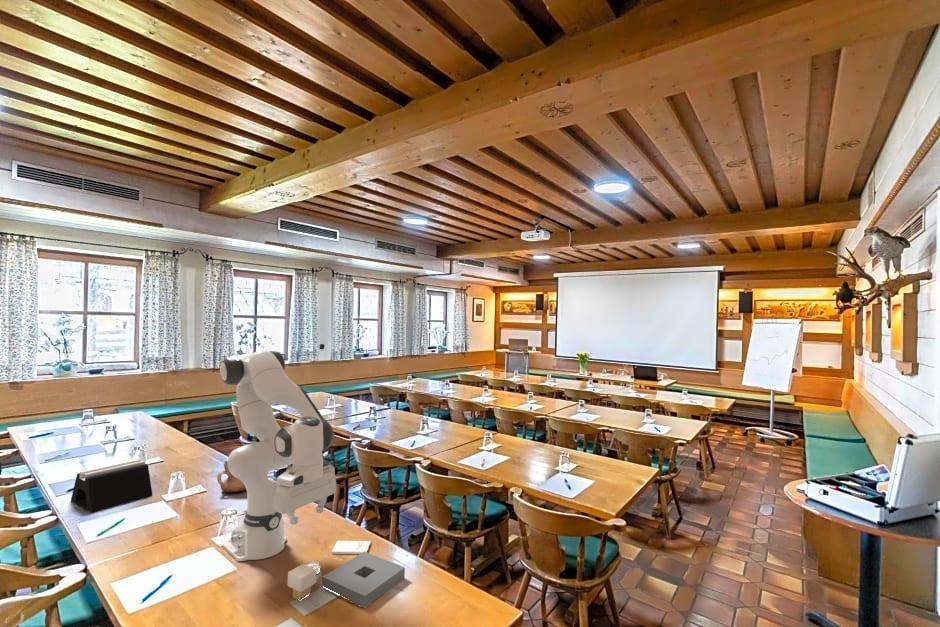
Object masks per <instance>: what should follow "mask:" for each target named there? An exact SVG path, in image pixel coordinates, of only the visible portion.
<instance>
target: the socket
mask: <svg viewBox="0 0 940 627" xmlns="http://www.w3.org/2000/svg"><path fill="white" fill-rule="evenodd" d="M405 570H406V568H405V566H403V565H399V564H398V563H395V562H392V561H390V560H387V559H385V558H383V557H380V556H377V555H374V554H371V553H369V552H363V553H361V554H359V555H356V556H355V557H353V558H351V559H349V560H348V561H346V562H344V563H343V564H341V565H340V566H337V567H335V569H333V570H331V571H330V572H327V573H326V574H325V575H323V576H322V579H321V580H322V583H321V585H323V586H324V587H326V588H328V589H330V590H332V591H334V592H336V593H338V594H340V595H341V596H343V597H345V598H347V599H349V600H350V601H352V602H354V603H356V604H357V605H356V604H355V605H356V606H358V605H360V606H362V607H364V608H365V607H366V608H368V607H369V606H370V605H371V604H372V602H373V601H374V602H375V601H376V599H377V600H378V599H379V598H381V597H382V596H383V595H385V594H386V593H387V592H388V591H390V590H391V589H392V588H394V587H395V586H397V585H398V584H399V583H400V582H401V581H403V580H404V579H405V575H406V574H405V572H406V571H405ZM364 576H365V577H364ZM350 601H349V602H350ZM352 602H351V603H352ZM374 602H373V603H374ZM354 603H353V604H354ZM369 604H370V605H369ZM368 605H369V606H368ZM360 606H359V607H360ZM362 607H361V608H362ZM364 608H363V609H364ZM366 608H365V609H366Z"/></svg>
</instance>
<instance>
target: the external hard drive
mask: <svg viewBox="0 0 940 627" xmlns="http://www.w3.org/2000/svg"><path fill="white" fill-rule="evenodd" d="M371 543H372V541H371V540H336V543H335V544H334V546H333V548H332V550H331V554H361V553H363V552H367V551H369V548H370V547H371ZM369 546H370V547H369ZM367 553H368V552H367Z"/></svg>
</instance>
